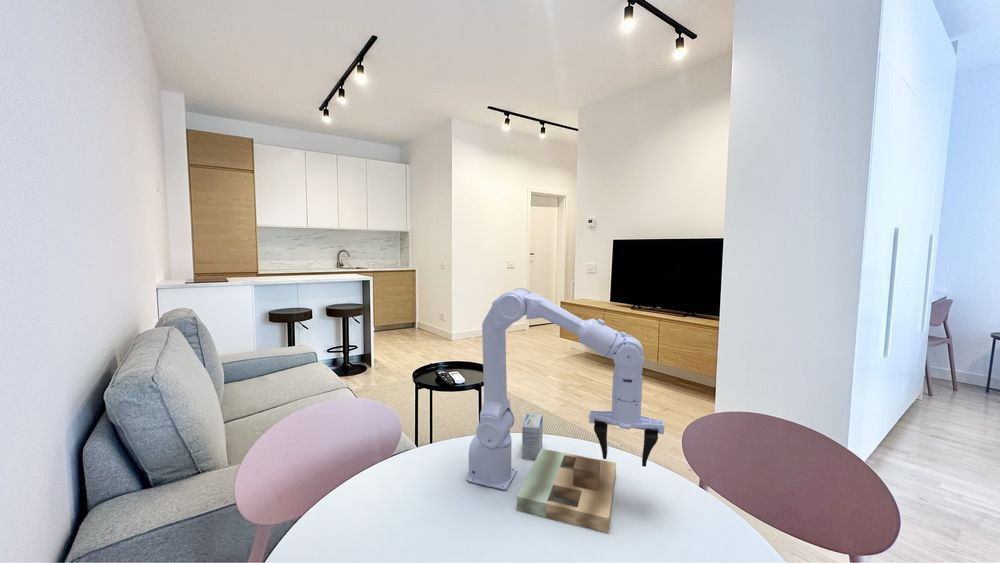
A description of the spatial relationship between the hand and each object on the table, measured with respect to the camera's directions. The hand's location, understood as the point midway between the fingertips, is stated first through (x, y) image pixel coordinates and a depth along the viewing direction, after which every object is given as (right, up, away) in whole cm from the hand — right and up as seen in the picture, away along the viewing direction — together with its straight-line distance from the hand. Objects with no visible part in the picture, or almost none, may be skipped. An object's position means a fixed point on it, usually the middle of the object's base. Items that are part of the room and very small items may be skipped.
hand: (624, 460), depth 81 cm
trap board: (-10, -9, +5) cm, 14 cm away
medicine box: (-17, -8, +21) cm, 28 cm away
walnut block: (-7, -6, +3) cm, 10 cm away
